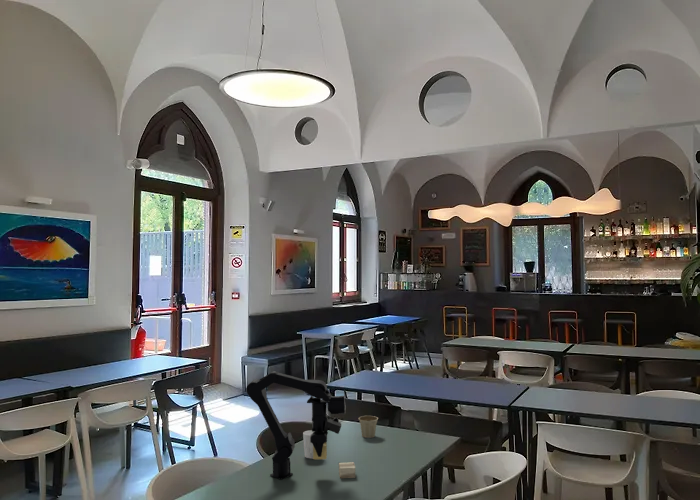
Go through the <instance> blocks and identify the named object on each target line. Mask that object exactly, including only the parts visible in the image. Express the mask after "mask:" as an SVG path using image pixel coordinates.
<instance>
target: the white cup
mask: <svg viewBox="0 0 700 500" xmlns="http://www.w3.org/2000/svg"><path fill="white" fill-rule="evenodd" d="M312 433H313V432H312V429H310V430H305V431H303V432H302V437H303V438H302V439H303V451H304V458H306V459H310V460H311V459H313V444H312V443H311V442H310V437H311V434H312ZM313 460H314V459H313Z"/></svg>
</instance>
